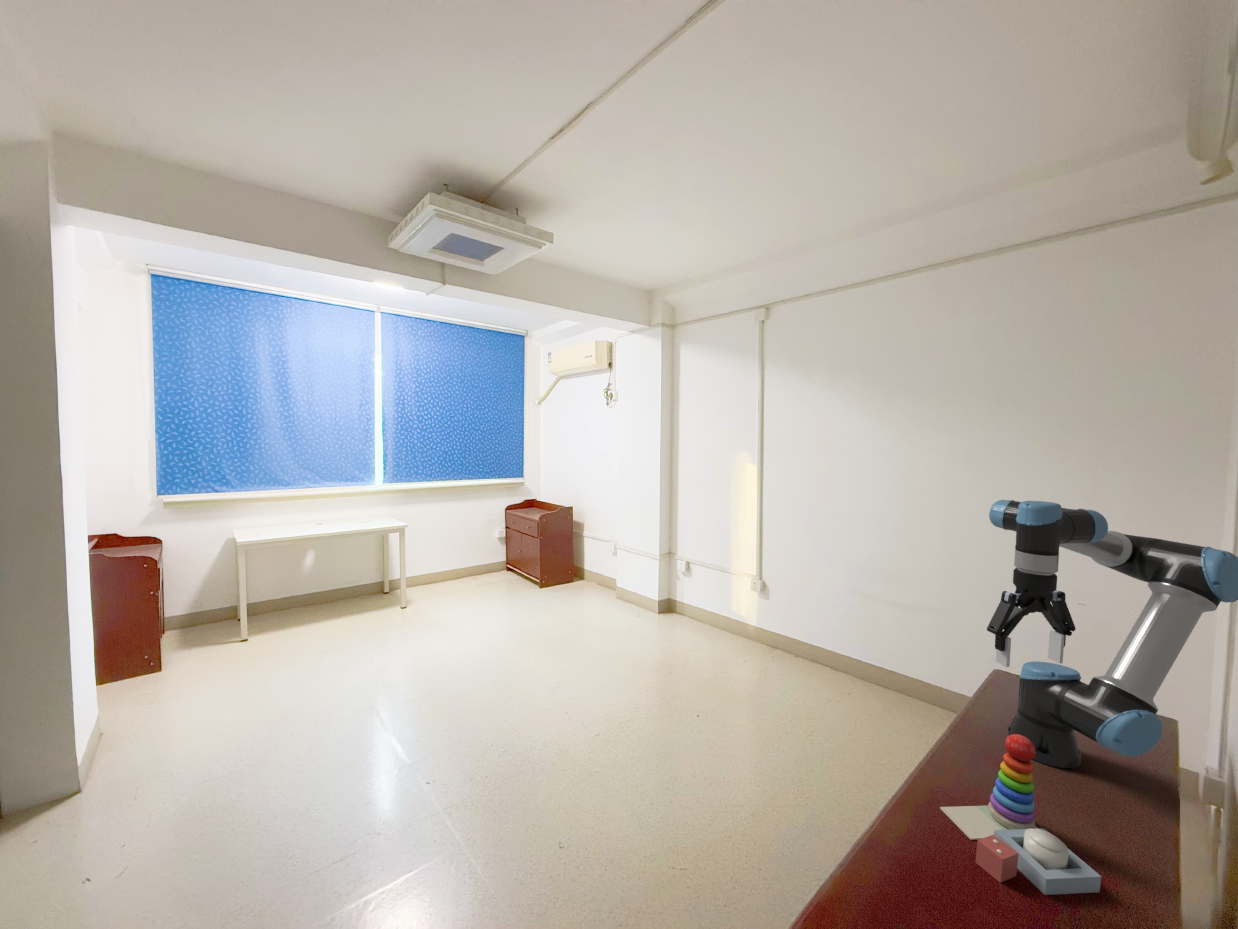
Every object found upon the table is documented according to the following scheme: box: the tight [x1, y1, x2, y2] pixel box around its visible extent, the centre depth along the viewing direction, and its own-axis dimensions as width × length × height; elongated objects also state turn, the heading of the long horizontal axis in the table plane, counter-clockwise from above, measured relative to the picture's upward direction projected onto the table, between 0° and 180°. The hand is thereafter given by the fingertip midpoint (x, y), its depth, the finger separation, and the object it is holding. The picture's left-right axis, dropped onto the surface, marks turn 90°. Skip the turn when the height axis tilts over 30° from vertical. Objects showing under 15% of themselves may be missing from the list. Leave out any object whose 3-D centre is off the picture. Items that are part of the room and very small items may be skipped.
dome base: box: [994, 827, 1102, 896], centre depth 95 cm, size 11×11×3 cm
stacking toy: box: [987, 734, 1036, 829], centre depth 106 cm, size 8×8×19 cm
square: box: [939, 805, 1001, 841], centre depth 105 cm, size 8×8×1 cm
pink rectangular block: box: [974, 835, 1019, 883], centre depth 94 cm, size 4×4×5 cm
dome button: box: [1023, 828, 1069, 870], centre depth 95 cm, size 6×6×5 cm
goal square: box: [975, 804, 1039, 830], centre depth 106 cm, size 8×8×1 cm
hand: (1029, 662), depth 112 cm, fingers open, 13 cm apart
